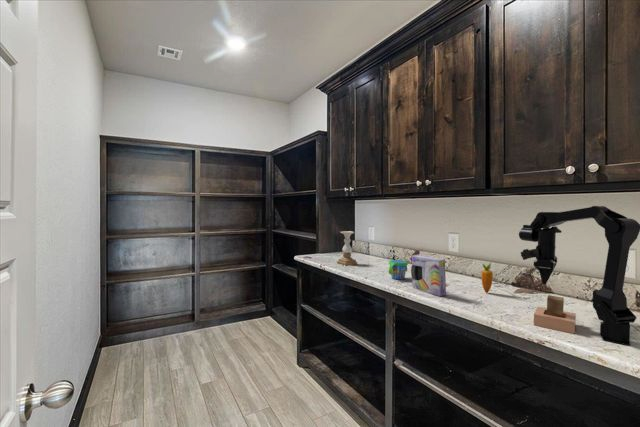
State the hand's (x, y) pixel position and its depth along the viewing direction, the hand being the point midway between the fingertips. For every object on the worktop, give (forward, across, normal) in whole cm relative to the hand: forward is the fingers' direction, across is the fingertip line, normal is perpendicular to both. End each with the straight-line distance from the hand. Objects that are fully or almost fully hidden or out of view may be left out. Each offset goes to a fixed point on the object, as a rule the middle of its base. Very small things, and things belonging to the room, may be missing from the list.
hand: (545, 282), depth 124 cm
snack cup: (+13, -16, -72) cm, 75 cm away
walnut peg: (+13, +11, +4) cm, 17 cm away
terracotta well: (+13, +11, +4) cm, 17 cm away
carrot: (+13, -18, -25) cm, 34 cm away
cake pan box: (+13, 0, -48) cm, 50 cm away
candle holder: (+13, -32, -121) cm, 126 cm away
